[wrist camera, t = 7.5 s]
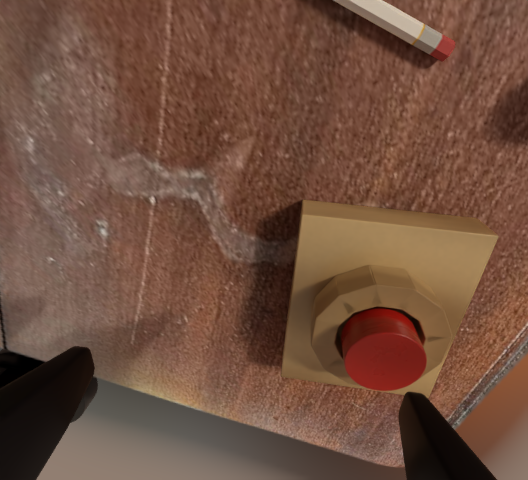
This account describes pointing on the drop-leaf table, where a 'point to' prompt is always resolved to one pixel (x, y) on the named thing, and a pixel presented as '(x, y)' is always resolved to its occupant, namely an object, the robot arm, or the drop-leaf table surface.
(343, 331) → the button
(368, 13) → the pencil
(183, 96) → the drop-leaf table surface
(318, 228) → the button block
